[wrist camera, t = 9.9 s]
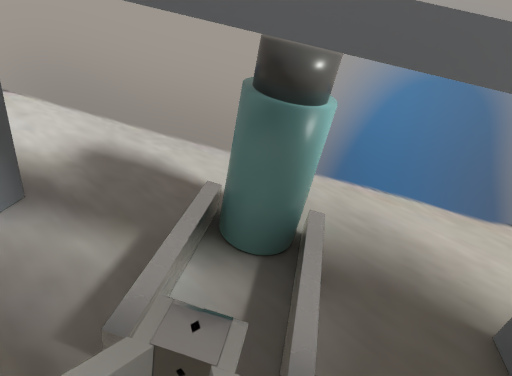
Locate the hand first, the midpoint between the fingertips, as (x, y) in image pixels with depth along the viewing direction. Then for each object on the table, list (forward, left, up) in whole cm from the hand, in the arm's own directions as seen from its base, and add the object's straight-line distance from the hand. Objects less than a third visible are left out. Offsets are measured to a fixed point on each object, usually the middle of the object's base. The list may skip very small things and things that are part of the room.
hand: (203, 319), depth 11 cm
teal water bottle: (0, -14, -7) cm, 16 cm away
